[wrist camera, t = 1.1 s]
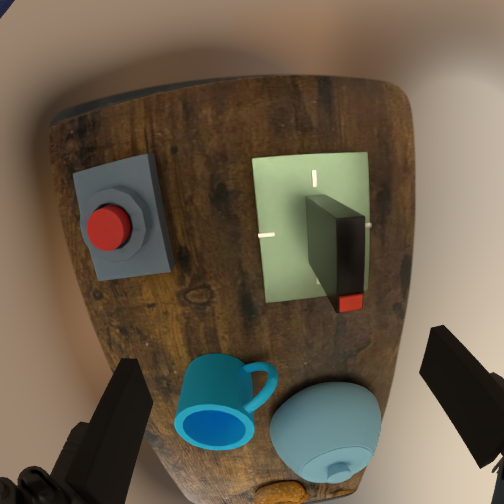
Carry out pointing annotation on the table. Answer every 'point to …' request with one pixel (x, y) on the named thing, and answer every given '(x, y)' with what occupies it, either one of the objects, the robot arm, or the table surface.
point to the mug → (220, 401)
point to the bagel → (281, 494)
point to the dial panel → (302, 214)
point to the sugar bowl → (327, 431)
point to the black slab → (337, 250)
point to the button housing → (138, 210)
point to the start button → (108, 227)
